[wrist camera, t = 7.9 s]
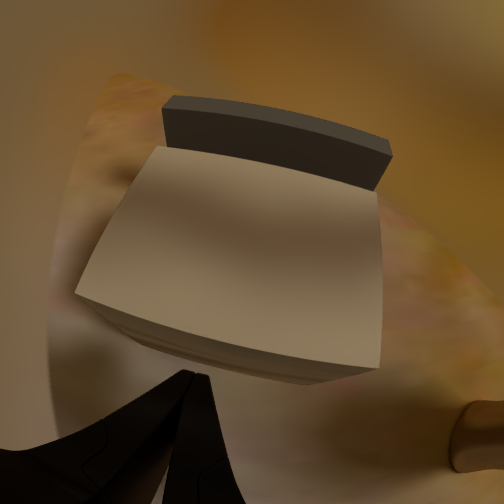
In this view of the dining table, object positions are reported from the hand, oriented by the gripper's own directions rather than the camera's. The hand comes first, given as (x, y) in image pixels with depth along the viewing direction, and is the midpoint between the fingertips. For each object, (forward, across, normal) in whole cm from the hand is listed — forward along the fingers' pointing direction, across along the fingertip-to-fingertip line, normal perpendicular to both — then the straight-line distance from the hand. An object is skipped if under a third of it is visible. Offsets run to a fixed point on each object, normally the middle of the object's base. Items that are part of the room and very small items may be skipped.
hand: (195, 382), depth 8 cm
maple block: (+8, 0, +1) cm, 8 cm away
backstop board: (+13, -1, -4) cm, 14 cm away
